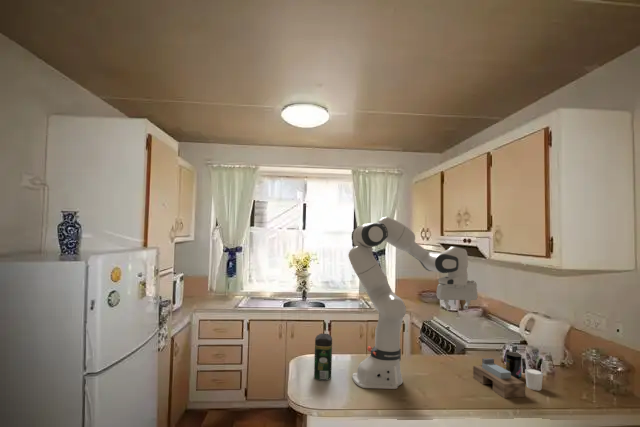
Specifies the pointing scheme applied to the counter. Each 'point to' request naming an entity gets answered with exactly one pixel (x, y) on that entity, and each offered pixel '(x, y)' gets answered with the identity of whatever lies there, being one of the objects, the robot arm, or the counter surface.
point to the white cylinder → (534, 379)
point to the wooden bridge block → (500, 383)
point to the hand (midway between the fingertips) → (456, 309)
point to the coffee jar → (323, 357)
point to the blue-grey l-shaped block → (495, 368)
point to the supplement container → (514, 364)
